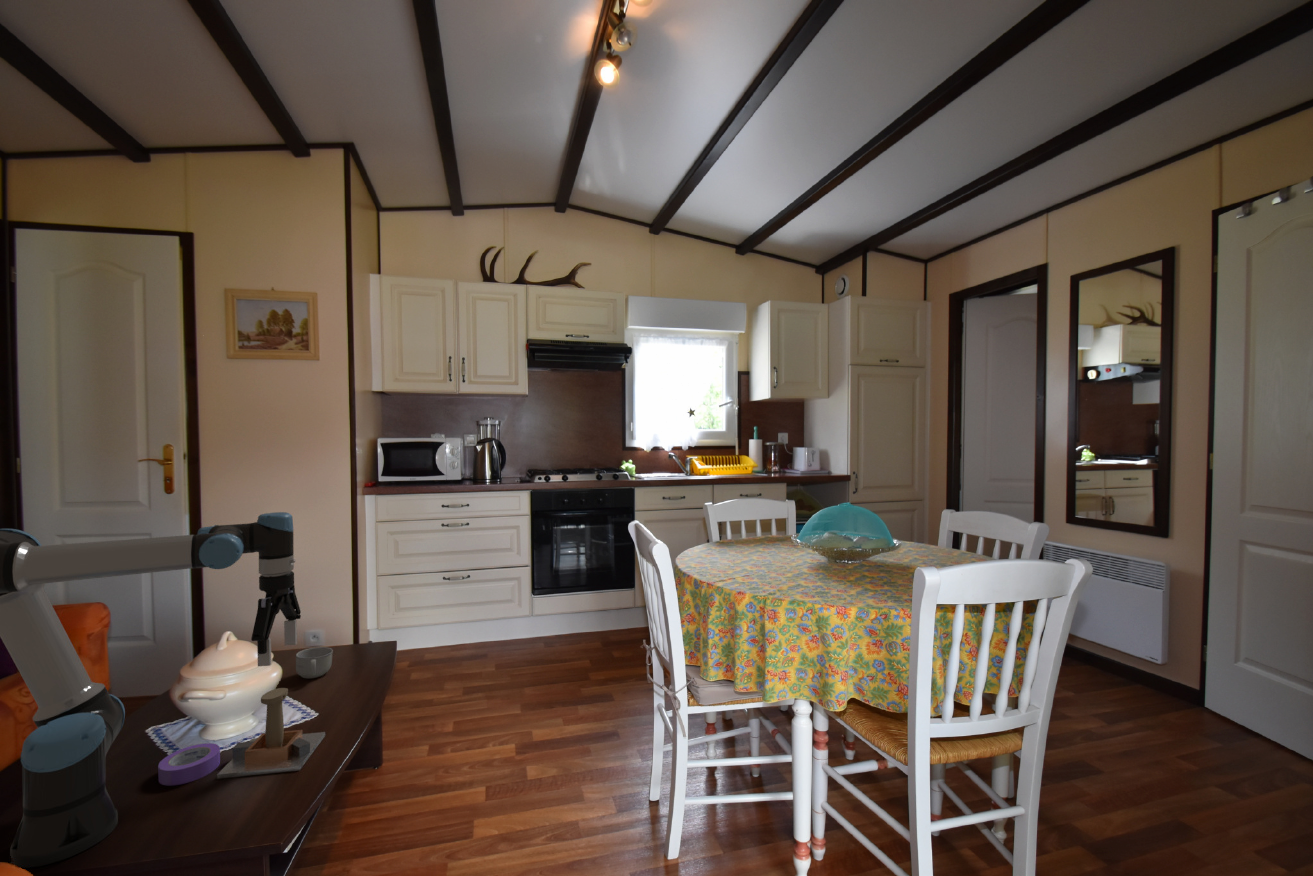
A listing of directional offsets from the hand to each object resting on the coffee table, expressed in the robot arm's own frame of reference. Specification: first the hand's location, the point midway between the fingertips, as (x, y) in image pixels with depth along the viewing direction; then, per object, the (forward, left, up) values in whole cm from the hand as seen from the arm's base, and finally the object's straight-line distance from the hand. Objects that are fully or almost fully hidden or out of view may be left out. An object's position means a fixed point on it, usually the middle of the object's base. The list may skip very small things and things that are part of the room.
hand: (278, 654), depth 145 cm
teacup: (-10, +48, -26) cm, 55 cm away
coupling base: (-1, -1, -26) cm, 26 cm away
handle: (0, -1, -25) cm, 25 cm away
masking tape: (-18, -4, -26) cm, 32 cm away
